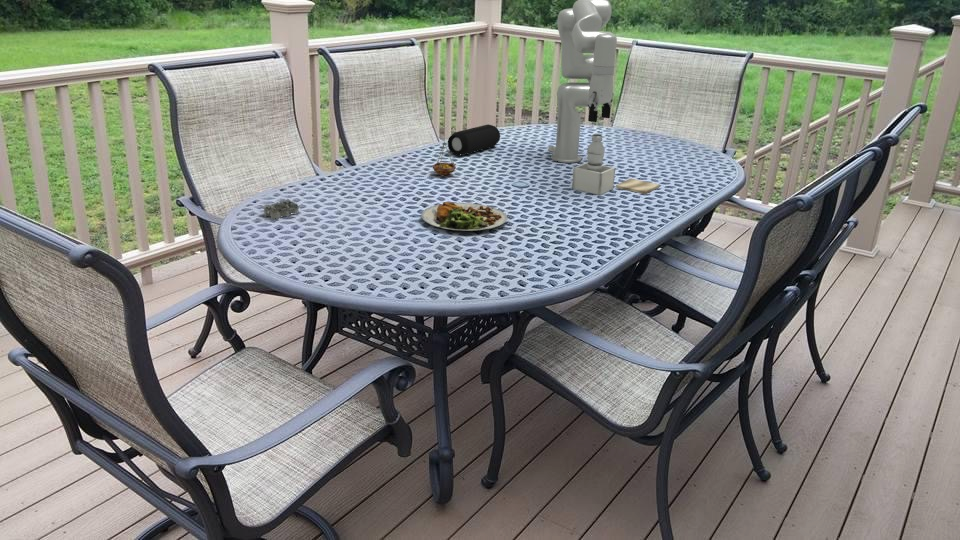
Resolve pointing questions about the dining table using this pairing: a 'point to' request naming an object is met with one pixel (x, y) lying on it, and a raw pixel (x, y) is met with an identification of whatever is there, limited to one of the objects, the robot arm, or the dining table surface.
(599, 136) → the plastic bottle
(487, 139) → the portable speaker
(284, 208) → the dark grey rough lump
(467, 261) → the dining table surface
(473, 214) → the plate of food
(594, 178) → the bin
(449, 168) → the bird feeder
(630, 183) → the pad
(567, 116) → the robot arm
